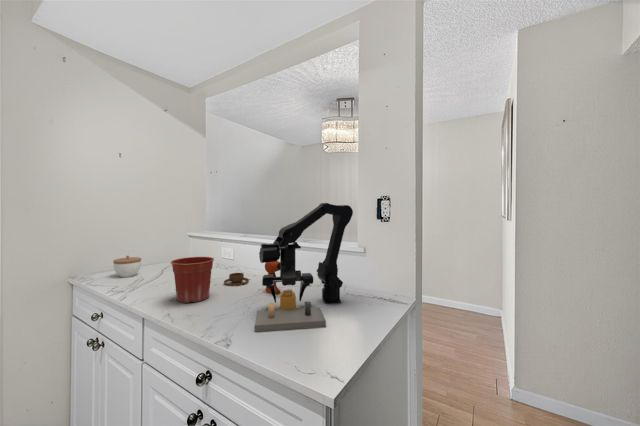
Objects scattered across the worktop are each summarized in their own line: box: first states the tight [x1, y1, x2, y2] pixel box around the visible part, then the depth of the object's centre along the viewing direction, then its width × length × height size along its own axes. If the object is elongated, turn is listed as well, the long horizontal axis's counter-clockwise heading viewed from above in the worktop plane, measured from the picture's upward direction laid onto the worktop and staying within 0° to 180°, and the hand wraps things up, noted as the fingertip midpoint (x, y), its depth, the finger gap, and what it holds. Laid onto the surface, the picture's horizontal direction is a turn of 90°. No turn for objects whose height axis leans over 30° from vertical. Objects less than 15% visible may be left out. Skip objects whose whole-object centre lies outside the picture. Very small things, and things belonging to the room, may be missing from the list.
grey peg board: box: [254, 301, 327, 333], centre depth 92 cm, size 22×12×6 cm, turn 100°
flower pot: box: [170, 256, 215, 304], centre depth 115 cm, size 16×16×16 cm
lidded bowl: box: [112, 255, 142, 278], centre depth 153 cm, size 13×13×11 cm
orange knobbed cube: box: [279, 289, 297, 310], centre depth 105 cm, size 6×6×6 cm
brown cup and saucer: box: [213, 272, 251, 287], centre depth 141 cm, size 18×20×6 cm
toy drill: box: [264, 260, 281, 295], centre depth 121 cm, size 5×19×15 cm, turn 45°
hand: (287, 301), depth 105 cm, fingers open, 9 cm apart
